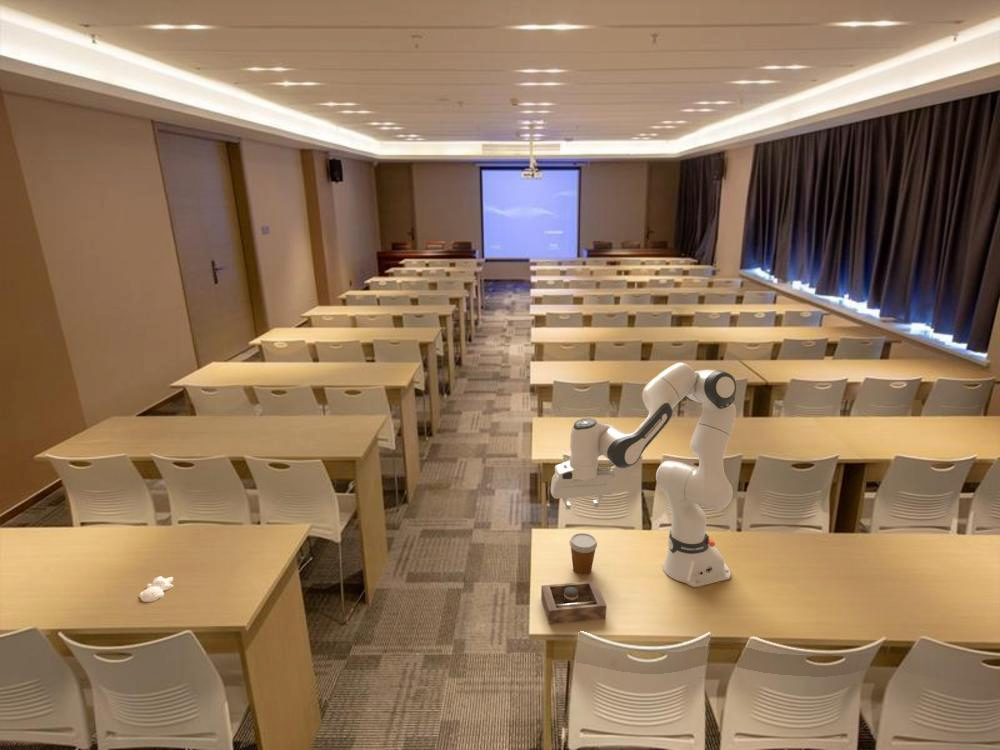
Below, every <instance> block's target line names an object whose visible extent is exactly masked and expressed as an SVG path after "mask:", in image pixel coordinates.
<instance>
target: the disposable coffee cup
mask: <svg viewBox="0 0 1000 750" xmlns="http://www.w3.org/2000/svg"><path fill="white" fill-rule="evenodd" d="M568 544H569V546H570V552H571V560H572V570H573V572H574V573H575V574H576V575H579V576H587V575H589V574H591V572H592V569H593V568H592V567H593V563H594V558H595V553H596V549H597V548H598V542H597V539H596V538H595V536H593V535H591V534H590V533H585V532H578V533H576V534H574V535H572V536H571V537H570V540H569V543H568Z"/></svg>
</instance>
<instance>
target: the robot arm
mask: <svg viewBox="0 0 1000 750" xmlns="http://www.w3.org/2000/svg"><path fill="white" fill-rule="evenodd" d="M736 392H737V382H736V379H735V377H734V376H733V375H732V374H731V373H729V372H727V371H724V370H722V369H721V370H719V369H718V370H715V369H702V370H696V369H695V370H694V369H693V367H692V366H691V365H689V364H687V363H685V362H676V363H674V364H671V366H669V367H667V368H665V369H664V370H662V371H661V372H660V373H658V374H657V375H656V376H655V377H653V378H652V379H650V381H648V383H646V385H645V386H644V388H643V389H642V396H641V397H642V401H643V405H644V407H645V408H646V410H647V411H648V414H647V417H646V418H645V419H644V420H643V421H642V422H641V423H640V424H639V426H638V427H637V428H636V429H635V430H634V431H633V432H631V433H626V432H625V431H622V430H620V429H619V428H617V426H614V425H612V424H610V423H609V422H603V423H601V422H599V421H597V420H596V419H595V418H591V417H585V418H580V419H578V420H576V421H575V422H574V423H573V424H572V428H571V432H570V443H569V448H570V456H569V460H566V461H564V462H561V463H559V464H555V466H554V471H555V473H554V474H553V475H552V476H551V477H552V478H551V483H550V494H551V496H552V498H554V499H555V500H557V499H559V500H560V499H561V500H562V501H563V503H564V509H565V510H571V503H570V501H568V499H571V498H585V497H596V499H593V501H592V502H593V503H592V505H593V507H594V508H600V504H601V501H602V500H603V498H604V496H613V495H614V494H615V481H614V479H615V477H616V471H615V469H614V468H613V467H611V466H606V467H604V466H603V467H598V465H599V457H601V456H603V457H605V458H606V459H607V460H608V461H610V462H611V463H612V464H613V465H614V466H616V467H617V468H620V469H626V468H629V467H632V466H634V465H635V464H636V463H637V462H638V461H639V460H640V458H641V456H642V454H643V453H644V452H645V450H646V449H647V448H648V446H649V445H651V443H652V442H653V441H654V439H655V438H657V436H658V435H659V434H660V433H661V432H662V430H663V429H664V428H665V426H667V424H668V423H669V422H670V420H671V419H672V416H673V409H674V408H675V407H676V405H678V403H680V401H682V400H683V399H684V398H685V399H686V400H688V401H691V402H696V403H701V408H702V409H701V415H700V416H699V419H698V421H697V423H696V426H695V429H694V431H693V434H692V437H691V439H690V442H689V445H690V447H689V448H690V450H691V451H692V453H693V454H694V455H695V456H696V457H697V458H698V461H699V462H698V467H694V466H692V465H689V464H686V463H684V462H680V461H677V460H664V461H663V462H661V464H660V465H659V467H658V468H657V469H656V472H655V473H656V474H655V480H656V484H657V485H658V486H659V488H660V489H661V490H662V491H663V492H664V494H665V496H666V498H667V500H668V501H667V502H668V503H669V507H670V510H671V525H670V526H671V527H670V528H671V529H670V531H669V533H668V534H669V536H668V550H667V554H666V557H665V559H664V562H663V564H662V569H663V572H664V573H665V574H666V575H667V576H669V578H671V579H674V580H675V581H677V582H681V583H683V584H684V583H685V584H686V585H688V586H690V587H693V588H698V587H702V586H705V585H711V584H714V583H718V582H722V581H727V580H730V579H731V574H732V573H731V570H730V567H728V564H726V562H725V561H724V558H723V555H722V554H721V552H720V551H719V549H718V548H716V547H715V546H716V542H715V541H714V540H713V539H712V538H710V536H709V535H708V534H707V533H706V530H707V529H706V528H707V521H708V520H707V516H706V513H705V511H704V510H703V509H702V508H701V507H702V506H703V507H704V508H709V509H712V510H713V509H714V510H722V509H724V508H726V507H727V506H728V505H729V504H730V502H731V501H732V498H733V493H734V492H733V487H732V485H731V483H730V482H729V481H730V480H728V478H727V476H726V473H725V470H724V457H725V452H726V449H727V446H728V443H729V440H730V437H731V435H732V431H733V429H734V425H735V420H736V415H737V408H736V406H735V404H734V401H735V398H736V397H735V396H736V394H737V393H736ZM700 506H701V507H700Z"/></svg>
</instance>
